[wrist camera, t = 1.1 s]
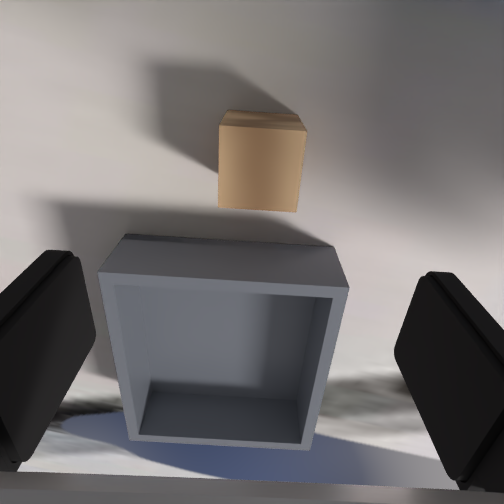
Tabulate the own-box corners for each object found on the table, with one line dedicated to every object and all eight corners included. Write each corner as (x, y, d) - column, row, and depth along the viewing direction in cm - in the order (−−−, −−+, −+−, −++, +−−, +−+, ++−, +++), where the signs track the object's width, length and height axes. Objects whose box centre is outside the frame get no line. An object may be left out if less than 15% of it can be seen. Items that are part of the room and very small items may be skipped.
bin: (334, 247, 30) (349, 287, 25) (303, 398, 40) (309, 450, 35) (125, 233, 30) (97, 272, 25) (146, 389, 40) (129, 440, 35)
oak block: (297, 114, 25) (307, 131, 20) (289, 181, 28) (296, 212, 22) (227, 109, 25) (219, 125, 20) (226, 177, 27) (218, 207, 22)
